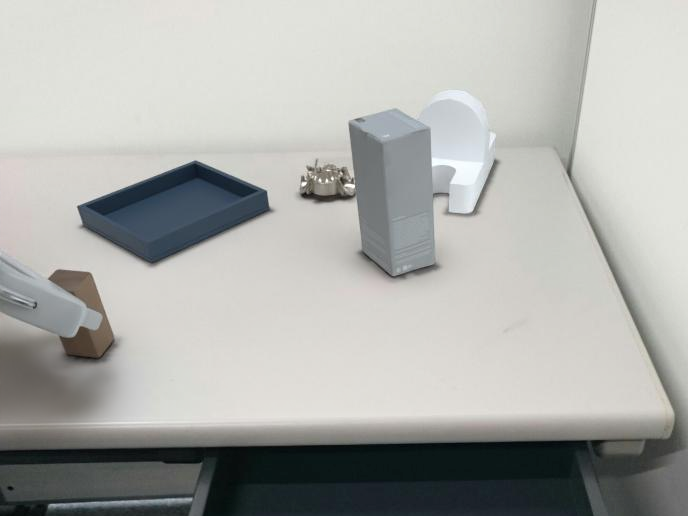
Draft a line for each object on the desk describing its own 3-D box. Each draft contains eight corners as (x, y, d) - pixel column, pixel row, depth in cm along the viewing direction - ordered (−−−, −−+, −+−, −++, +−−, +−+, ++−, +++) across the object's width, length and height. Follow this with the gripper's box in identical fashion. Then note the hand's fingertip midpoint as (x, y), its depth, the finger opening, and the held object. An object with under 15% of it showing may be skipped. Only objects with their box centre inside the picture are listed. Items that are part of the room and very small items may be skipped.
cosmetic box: (436, 265, 90) (440, 127, 78) (385, 280, 88) (382, 140, 76) (402, 237, 95) (401, 103, 83) (354, 251, 92) (345, 114, 80)
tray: (83, 225, 98) (76, 205, 96) (199, 178, 107) (195, 159, 105) (152, 263, 91) (146, 243, 89) (269, 209, 100) (267, 190, 98)
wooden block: (82, 335, 80) (56, 267, 74) (116, 338, 80) (92, 270, 74) (65, 355, 78) (36, 287, 72) (100, 359, 77) (73, 291, 71)
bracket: (430, 152, 113) (432, 68, 104) (495, 159, 111) (502, 74, 102) (399, 206, 101) (398, 116, 92) (471, 214, 99) (477, 123, 90)
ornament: (359, 182, 106) (358, 156, 103) (352, 203, 101) (350, 176, 99) (305, 180, 106) (302, 154, 104) (296, 201, 102) (292, 174, 99)
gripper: (3, 252, 57) (142, 311, 69) (-110, 180, 66) (31, 244, 78) (-25, 325, 58) (116, 371, 70) (-132, 245, 67) (10, 298, 79)
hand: (70, 304), depth 74 cm, fingers open, 8 cm apart
